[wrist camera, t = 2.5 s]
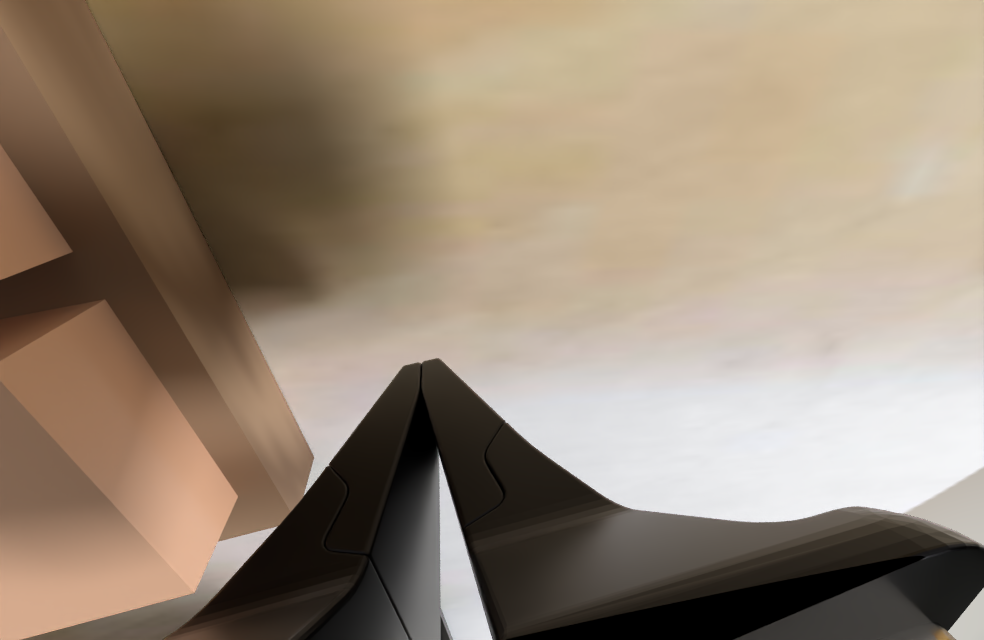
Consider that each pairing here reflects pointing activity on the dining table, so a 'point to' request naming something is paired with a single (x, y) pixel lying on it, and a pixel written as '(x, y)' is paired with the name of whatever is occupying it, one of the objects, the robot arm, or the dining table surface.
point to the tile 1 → (24, 225)
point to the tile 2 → (95, 476)
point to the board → (138, 251)
